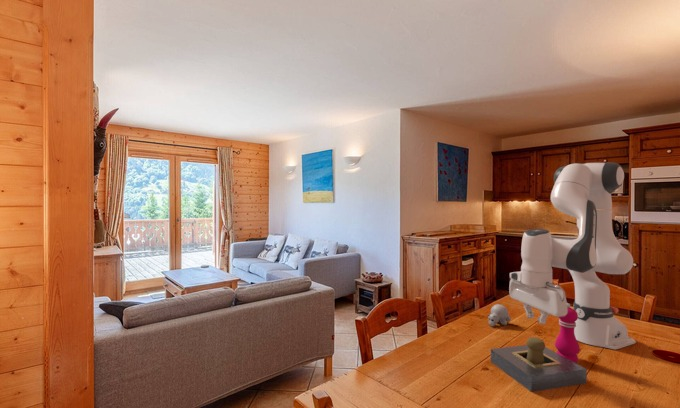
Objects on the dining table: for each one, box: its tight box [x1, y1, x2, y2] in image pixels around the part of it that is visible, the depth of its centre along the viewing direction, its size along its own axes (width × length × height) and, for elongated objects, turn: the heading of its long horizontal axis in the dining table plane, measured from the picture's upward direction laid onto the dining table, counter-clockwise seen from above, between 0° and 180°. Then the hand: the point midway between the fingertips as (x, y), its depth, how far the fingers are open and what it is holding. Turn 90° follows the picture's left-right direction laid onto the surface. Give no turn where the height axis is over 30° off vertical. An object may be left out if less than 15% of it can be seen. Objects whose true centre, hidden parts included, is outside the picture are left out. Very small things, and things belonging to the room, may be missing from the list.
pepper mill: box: [554, 302, 581, 364], centre depth 114 cm, size 7×7×20 cm
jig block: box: [490, 344, 588, 393], centre depth 106 cm, size 20×18×5 cm
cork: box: [526, 336, 546, 365], centre depth 106 cm, size 6×6×11 cm
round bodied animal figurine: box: [487, 303, 512, 327], centre depth 146 cm, size 7×12×8 cm, turn 118°
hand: (535, 320), depth 106 cm, fingers open, 3 cm apart
